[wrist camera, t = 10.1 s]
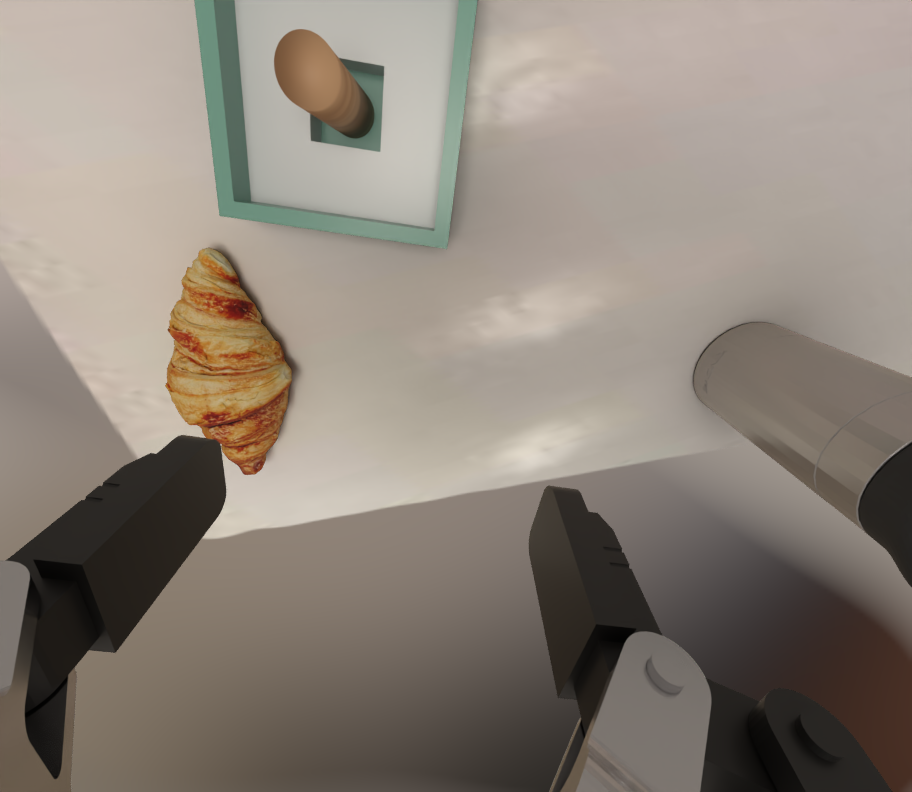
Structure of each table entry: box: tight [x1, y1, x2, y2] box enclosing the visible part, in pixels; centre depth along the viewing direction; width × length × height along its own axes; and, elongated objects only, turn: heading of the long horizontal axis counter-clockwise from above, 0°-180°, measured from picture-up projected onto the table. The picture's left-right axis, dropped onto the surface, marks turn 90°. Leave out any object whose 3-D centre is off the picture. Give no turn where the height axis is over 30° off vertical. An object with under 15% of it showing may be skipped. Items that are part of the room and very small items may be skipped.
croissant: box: [165, 248, 292, 475], centre depth 35 cm, size 21×10×8 cm, turn 178°
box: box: [194, 0, 477, 249], centre depth 26 cm, size 15×15×6 cm
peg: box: [274, 29, 374, 138], centre depth 23 cm, size 3×3×10 cm
